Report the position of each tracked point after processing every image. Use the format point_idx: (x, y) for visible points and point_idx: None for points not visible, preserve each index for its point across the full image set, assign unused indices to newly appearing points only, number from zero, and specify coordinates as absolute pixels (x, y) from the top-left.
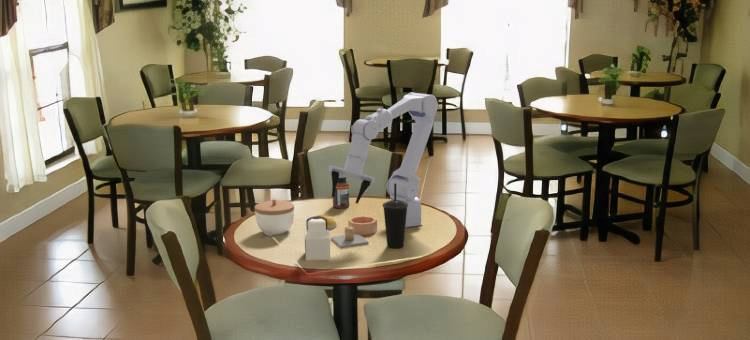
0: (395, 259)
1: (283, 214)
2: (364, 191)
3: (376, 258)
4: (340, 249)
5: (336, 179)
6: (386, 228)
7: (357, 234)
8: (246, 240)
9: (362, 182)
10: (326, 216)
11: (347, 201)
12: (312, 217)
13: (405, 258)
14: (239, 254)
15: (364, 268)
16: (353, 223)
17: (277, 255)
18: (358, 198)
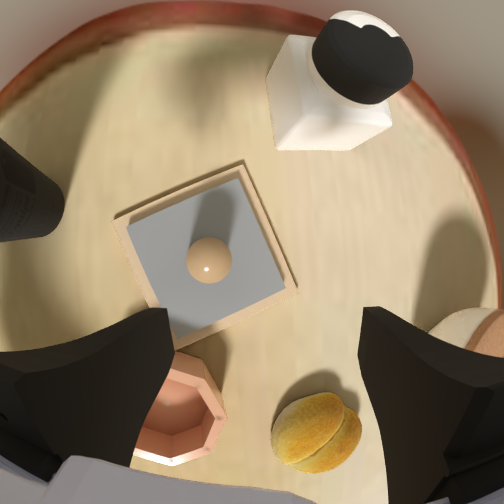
0: (57, 95)
1: (473, 329)
2: (61, 344)
3: (110, 97)
4: (237, 166)
5: (457, 369)
6: (31, 173)
7: (177, 323)
8: (482, 280)
9: (33, 385)
10: (313, 466)
11: None
12: (399, 56)
13: (30, 108)
14: (477, 175)
15: (158, 26)
16: (198, 376)
17: (415, 150)
18: (136, 317)
